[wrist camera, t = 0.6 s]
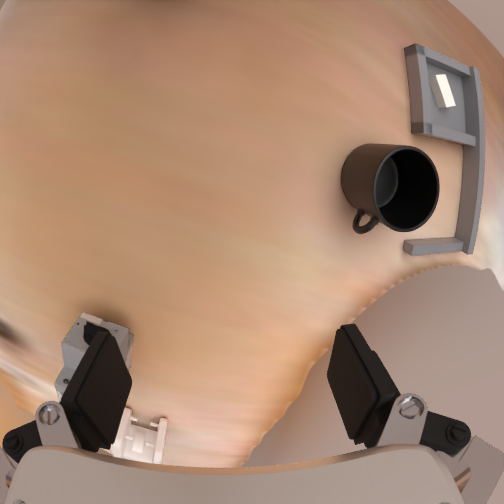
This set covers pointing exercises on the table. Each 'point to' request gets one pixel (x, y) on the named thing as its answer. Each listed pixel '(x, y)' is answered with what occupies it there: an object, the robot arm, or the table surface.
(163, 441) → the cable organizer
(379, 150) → the mug
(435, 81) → the eraser
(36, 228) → the table surface
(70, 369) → the circuit breaker
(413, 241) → the organizer
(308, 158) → the table surface
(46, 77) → the table surface
